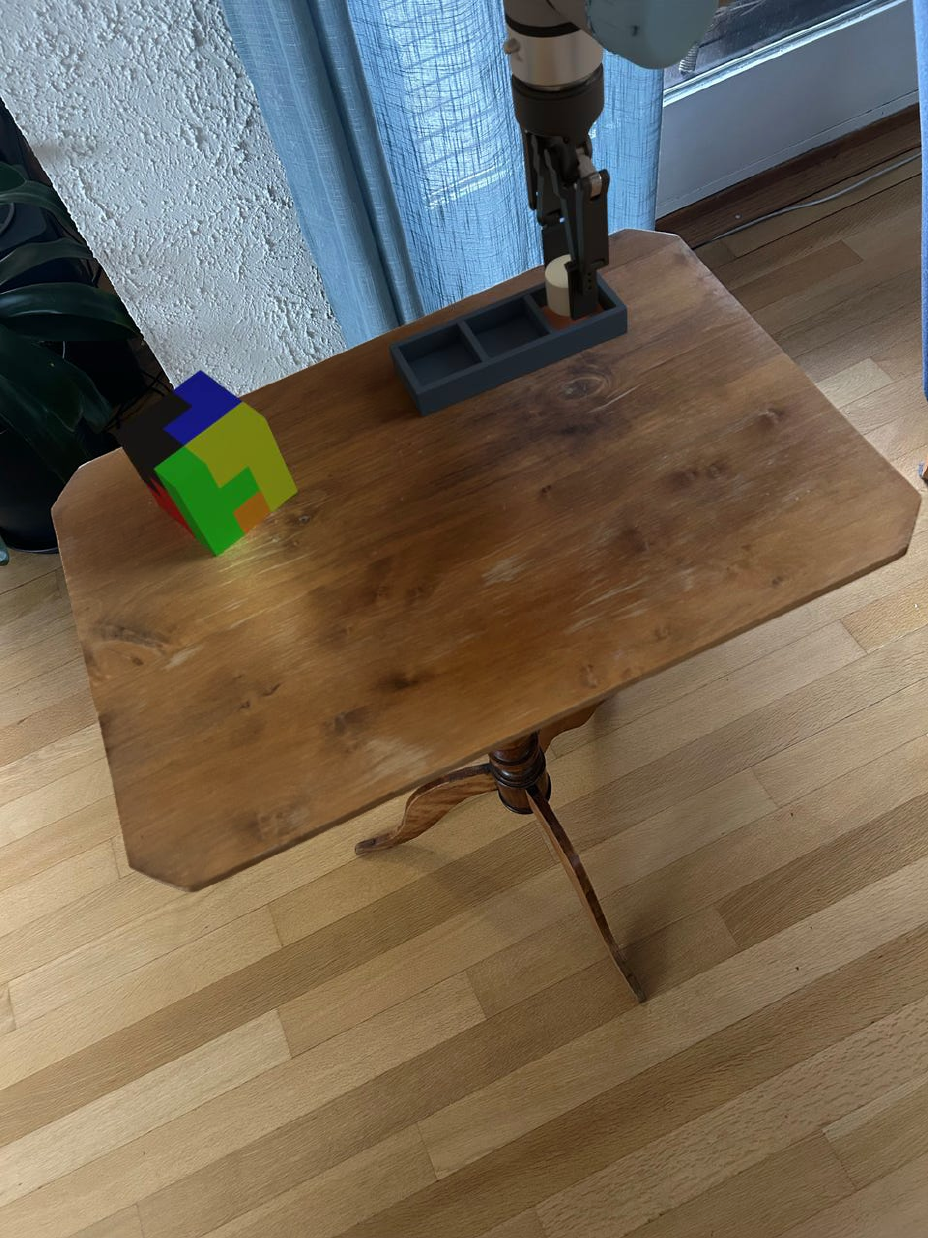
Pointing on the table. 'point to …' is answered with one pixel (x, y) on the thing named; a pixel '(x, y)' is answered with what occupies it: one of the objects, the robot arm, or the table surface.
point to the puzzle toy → (208, 461)
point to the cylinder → (558, 286)
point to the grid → (499, 345)
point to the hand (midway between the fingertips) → (571, 296)
